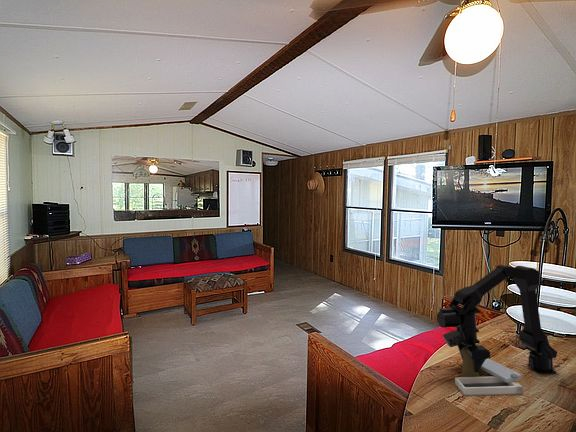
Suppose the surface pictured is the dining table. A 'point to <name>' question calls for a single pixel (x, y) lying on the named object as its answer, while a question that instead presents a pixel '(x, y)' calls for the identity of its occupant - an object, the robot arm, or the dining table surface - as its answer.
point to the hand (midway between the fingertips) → (470, 366)
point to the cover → (500, 371)
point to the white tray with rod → (487, 386)
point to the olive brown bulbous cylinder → (467, 365)
